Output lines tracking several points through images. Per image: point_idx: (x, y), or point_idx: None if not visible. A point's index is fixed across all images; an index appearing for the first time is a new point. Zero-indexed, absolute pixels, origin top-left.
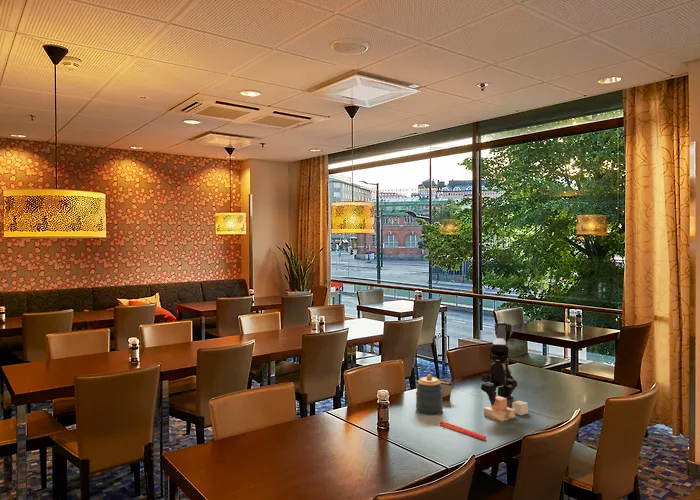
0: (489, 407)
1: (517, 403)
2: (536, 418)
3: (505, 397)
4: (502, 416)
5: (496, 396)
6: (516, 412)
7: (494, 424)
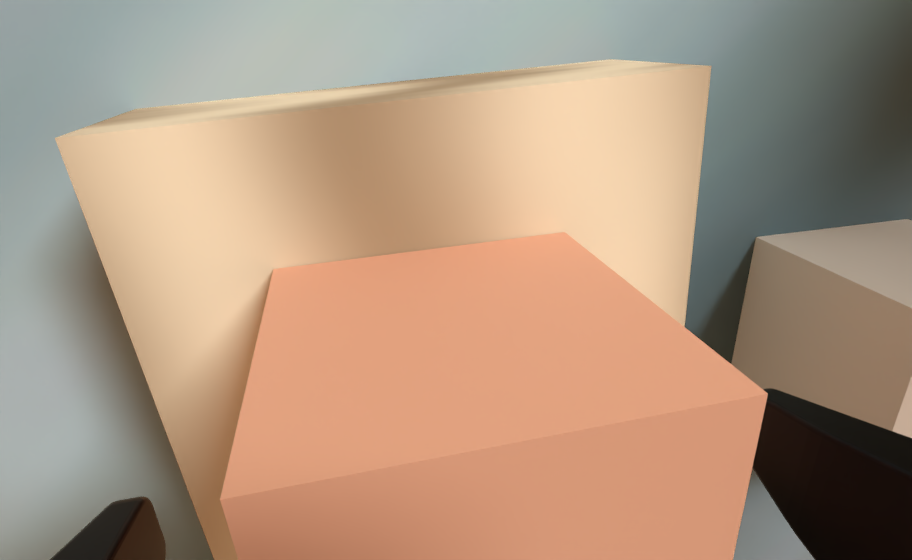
0: (272, 191)
1: (907, 427)
2: (756, 531)
3: (849, 491)
4: None
5: (617, 435)
6: (754, 327)
7: (49, 553)
